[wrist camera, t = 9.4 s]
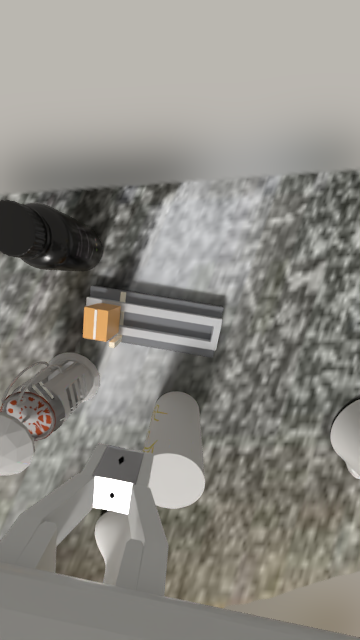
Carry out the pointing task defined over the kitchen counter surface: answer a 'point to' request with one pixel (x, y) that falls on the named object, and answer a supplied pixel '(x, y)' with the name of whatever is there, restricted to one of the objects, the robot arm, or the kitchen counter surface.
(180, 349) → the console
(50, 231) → the supplement bottle
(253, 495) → the kitchen counter surface
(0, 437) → the french press
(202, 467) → the light grey cylinder
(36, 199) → the kitchen counter surface
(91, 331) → the fader
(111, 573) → the flower in vase
